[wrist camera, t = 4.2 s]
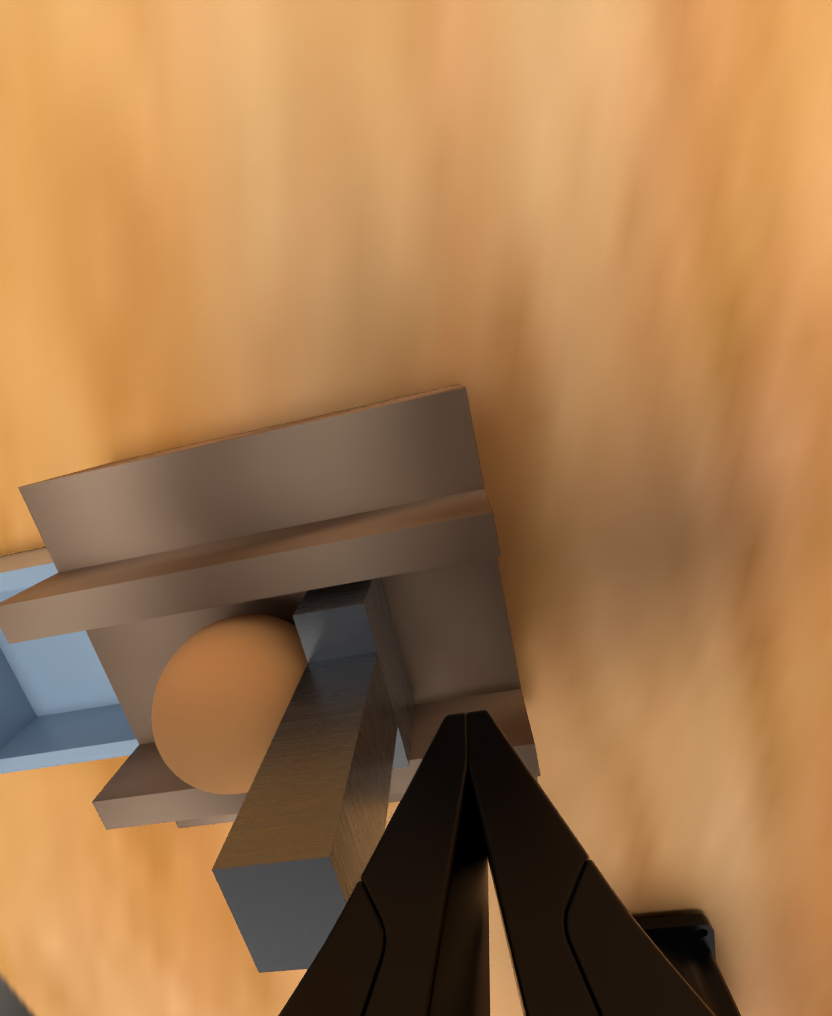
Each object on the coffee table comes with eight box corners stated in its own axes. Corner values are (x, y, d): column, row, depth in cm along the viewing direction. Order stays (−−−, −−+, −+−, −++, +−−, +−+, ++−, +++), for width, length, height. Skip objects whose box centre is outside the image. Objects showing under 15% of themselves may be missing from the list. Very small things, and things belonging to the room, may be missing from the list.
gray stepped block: (377, 562, 12) (302, 782, 5) (414, 702, 13) (388, 1019, 7) (319, 572, 12) (178, 798, 6) (360, 710, 13) (284, 1026, 7)
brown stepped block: (459, 384, 14) (470, 390, 9) (519, 704, 17) (553, 850, 12) (111, 462, 15) (-63, 508, 10) (226, 746, 19) (140, 893, 13)
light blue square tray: (130, 530, 16) (47, 571, 13) (199, 698, 18) (143, 773, 15) (-46, 565, 17) (-167, 613, 13) (38, 723, 19) (-49, 799, 15)
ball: (336, 602, 10) (151, 711, 8) (377, 741, 11) (227, 879, 9) (258, 576, 13) (104, 650, 11) (297, 689, 14) (165, 782, 12)
